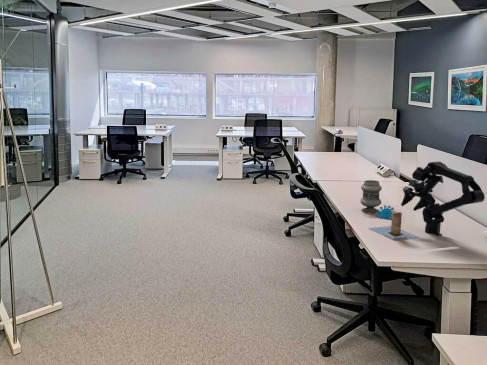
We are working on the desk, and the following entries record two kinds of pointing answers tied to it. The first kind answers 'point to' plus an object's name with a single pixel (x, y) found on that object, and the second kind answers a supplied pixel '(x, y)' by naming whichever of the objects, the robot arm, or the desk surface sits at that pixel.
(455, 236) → the desk surface
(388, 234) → the metal collar
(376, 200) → the apothecary jar
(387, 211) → the blue virus model
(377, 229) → the board
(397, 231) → the tan wooden peg
